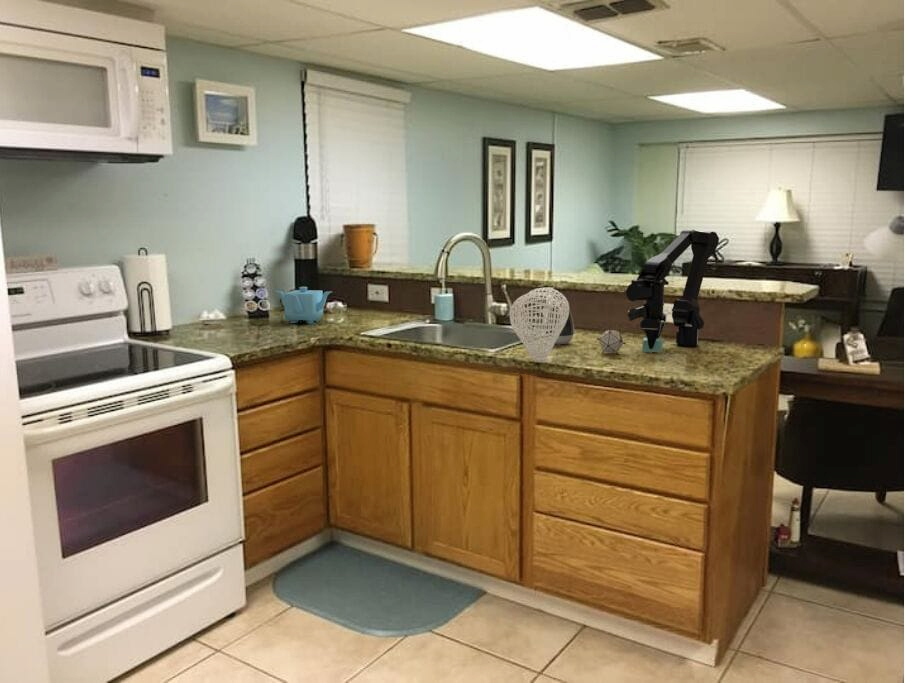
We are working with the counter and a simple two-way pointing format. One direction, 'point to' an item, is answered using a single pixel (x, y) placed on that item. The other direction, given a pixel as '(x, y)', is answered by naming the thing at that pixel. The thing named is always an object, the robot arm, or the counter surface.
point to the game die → (611, 341)
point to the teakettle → (303, 304)
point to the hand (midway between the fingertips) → (652, 346)
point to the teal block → (657, 346)
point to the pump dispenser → (567, 331)
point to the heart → (521, 324)
